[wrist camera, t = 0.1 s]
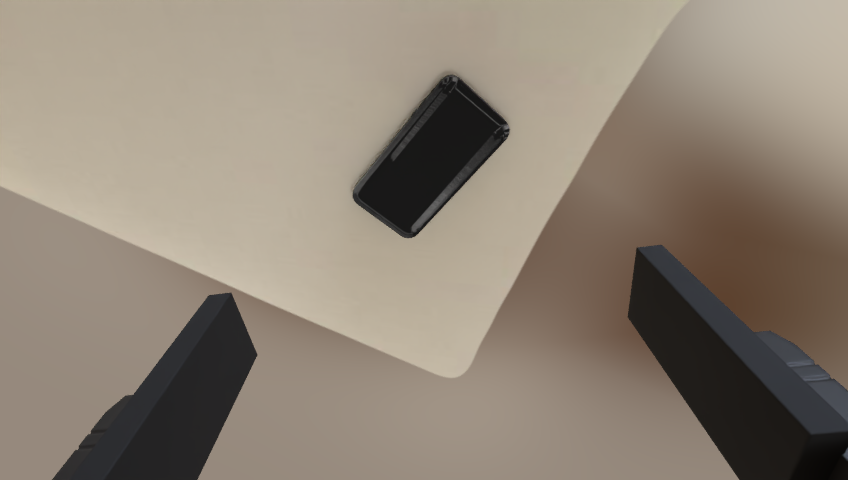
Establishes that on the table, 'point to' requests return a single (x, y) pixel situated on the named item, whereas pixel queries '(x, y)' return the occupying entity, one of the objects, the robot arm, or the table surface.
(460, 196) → the table surface
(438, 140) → the phone
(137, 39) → the table surface
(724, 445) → the robot arm
